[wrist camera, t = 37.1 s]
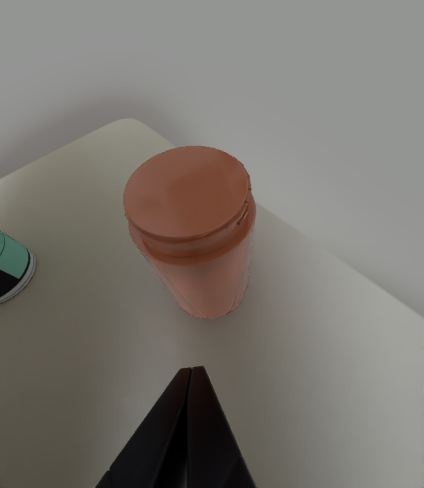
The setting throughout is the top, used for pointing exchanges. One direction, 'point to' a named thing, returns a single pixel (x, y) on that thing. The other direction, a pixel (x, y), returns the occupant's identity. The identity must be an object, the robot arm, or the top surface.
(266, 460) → the top surface
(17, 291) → the spray can
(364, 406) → the top surface
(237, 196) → the jar
